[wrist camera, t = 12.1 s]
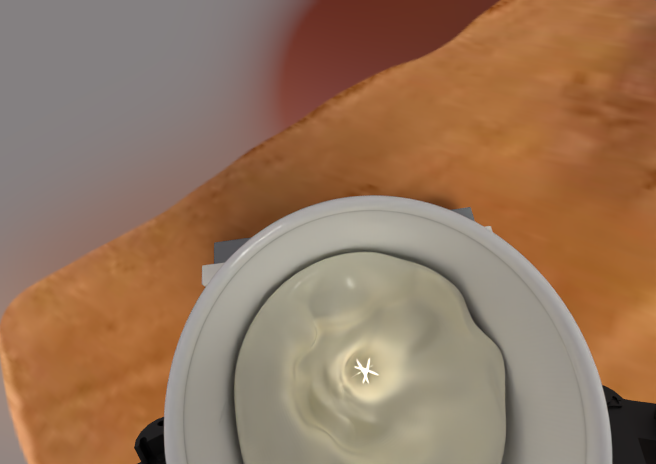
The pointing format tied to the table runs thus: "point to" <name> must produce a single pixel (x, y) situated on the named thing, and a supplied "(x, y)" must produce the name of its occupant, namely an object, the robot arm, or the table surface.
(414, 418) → the candle holder
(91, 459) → the table surface
